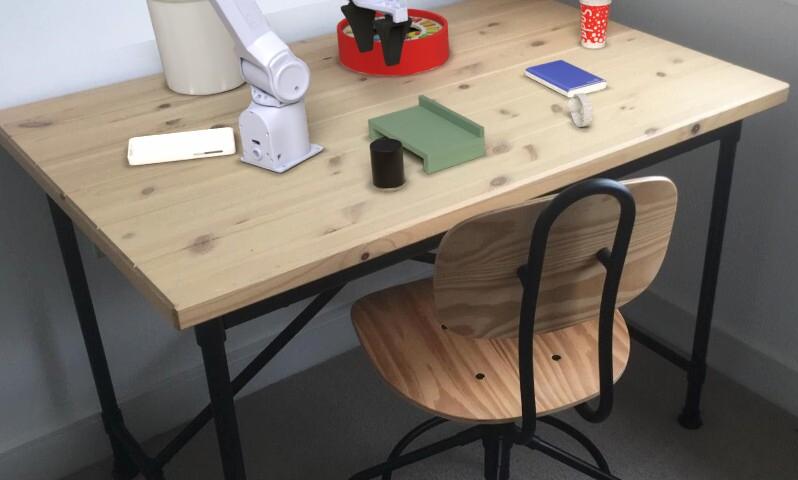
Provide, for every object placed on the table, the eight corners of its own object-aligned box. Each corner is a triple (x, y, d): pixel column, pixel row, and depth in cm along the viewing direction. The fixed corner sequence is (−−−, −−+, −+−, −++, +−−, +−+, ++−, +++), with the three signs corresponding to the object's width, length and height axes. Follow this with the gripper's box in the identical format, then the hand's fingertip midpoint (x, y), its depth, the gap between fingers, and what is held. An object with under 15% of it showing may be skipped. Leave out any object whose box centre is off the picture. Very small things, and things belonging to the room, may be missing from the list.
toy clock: (468, 17, 177) (408, 49, 162) (469, 48, 180) (411, 83, 166) (378, 2, 185) (313, 32, 170) (380, 32, 188) (317, 64, 173)
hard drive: (606, 79, 163) (562, 58, 171) (568, 89, 159) (525, 67, 167) (606, 88, 164) (562, 67, 172) (568, 98, 160) (525, 76, 168)
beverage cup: (572, 41, 184) (575, -35, 176) (602, 37, 185) (606, -37, 178) (583, 51, 179) (587, -26, 171) (614, 48, 181) (619, -29, 173)
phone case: (233, 134, 148) (131, 146, 144) (232, 126, 147) (129, 137, 143) (236, 154, 142) (129, 166, 138) (234, 145, 141) (127, 157, 138)
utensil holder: (199, 104, 158) (178, -4, 148) (144, 84, 165) (121, -20, 155) (269, 78, 168) (253, -25, 158) (214, 60, 175) (196, -39, 165)
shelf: (428, 174, 136) (427, 145, 134) (369, 137, 147) (366, 110, 144) (484, 155, 142) (484, 127, 139) (423, 121, 152) (422, 94, 149)
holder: (392, 195, 131) (388, 154, 128) (365, 187, 133) (361, 147, 130) (412, 182, 134) (409, 142, 131) (386, 174, 136) (382, 135, 133)
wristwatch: (582, 118, 153) (583, 88, 150) (595, 130, 149) (597, 99, 146) (565, 120, 152) (566, 90, 149) (578, 132, 148) (579, 102, 145)
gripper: (423, -29, 136) (428, 65, 143) (369, -49, 145) (376, 40, 153) (380, -20, 132) (387, 75, 140) (328, -41, 141) (337, 49, 149)
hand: (379, 57), depth 146 cm, fingers open, 7 cm apart
